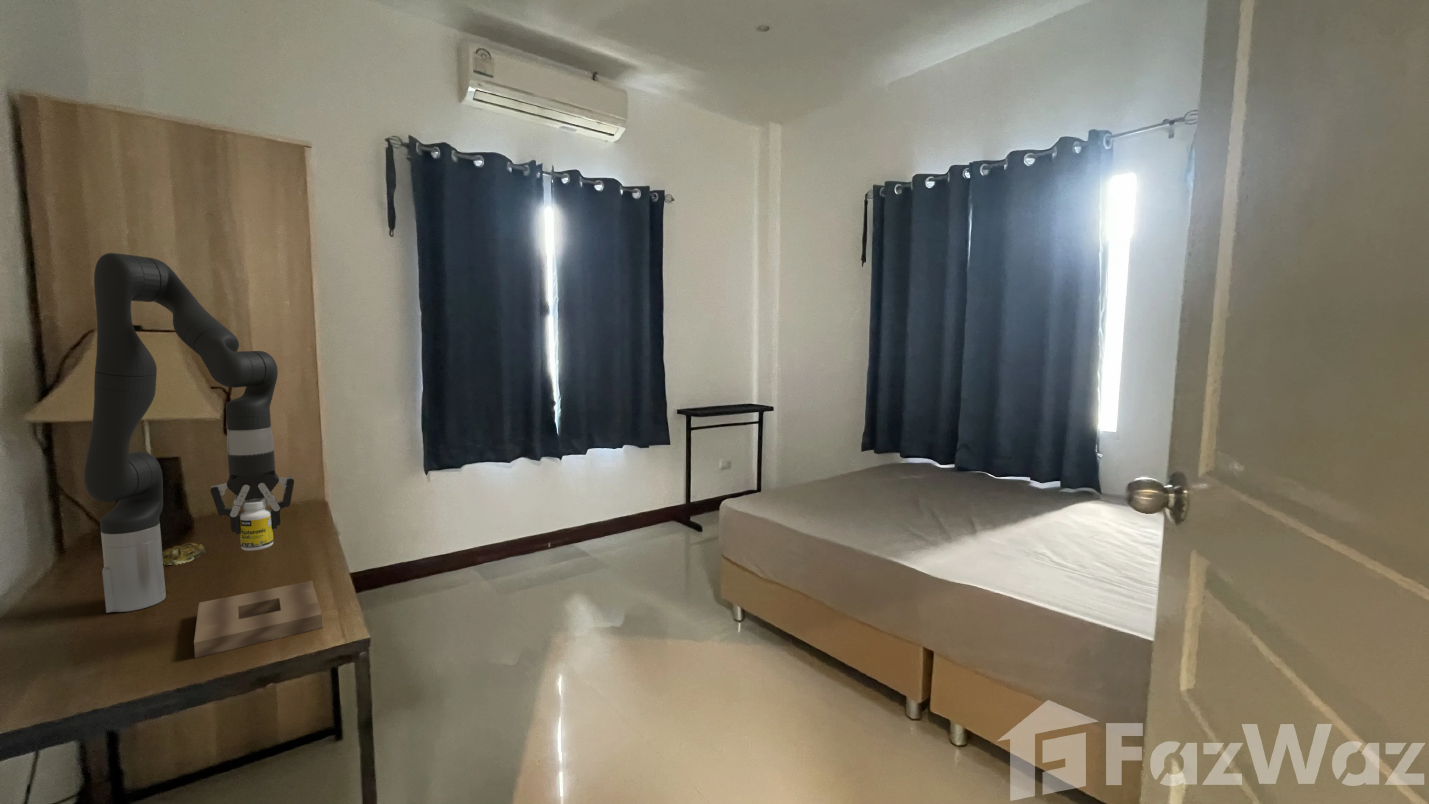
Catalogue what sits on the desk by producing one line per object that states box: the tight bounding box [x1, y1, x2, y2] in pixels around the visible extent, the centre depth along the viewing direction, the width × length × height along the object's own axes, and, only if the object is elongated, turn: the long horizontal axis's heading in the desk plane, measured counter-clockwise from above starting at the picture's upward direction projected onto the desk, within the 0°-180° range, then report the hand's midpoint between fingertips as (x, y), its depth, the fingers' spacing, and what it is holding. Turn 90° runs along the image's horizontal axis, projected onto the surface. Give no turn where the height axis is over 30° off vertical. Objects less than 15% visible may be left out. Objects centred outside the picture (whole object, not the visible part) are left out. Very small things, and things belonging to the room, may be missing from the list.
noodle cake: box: [162, 542, 206, 566], centre depth 160 cm, size 9×5×15 cm
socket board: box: [193, 580, 323, 659], centre depth 127 cm, size 20×20×3 cm
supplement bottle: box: [239, 497, 274, 551], centre depth 125 cm, size 5×5×10 cm
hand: (256, 530), depth 125 cm, fingers closed on supplement bottle, 5 cm apart
